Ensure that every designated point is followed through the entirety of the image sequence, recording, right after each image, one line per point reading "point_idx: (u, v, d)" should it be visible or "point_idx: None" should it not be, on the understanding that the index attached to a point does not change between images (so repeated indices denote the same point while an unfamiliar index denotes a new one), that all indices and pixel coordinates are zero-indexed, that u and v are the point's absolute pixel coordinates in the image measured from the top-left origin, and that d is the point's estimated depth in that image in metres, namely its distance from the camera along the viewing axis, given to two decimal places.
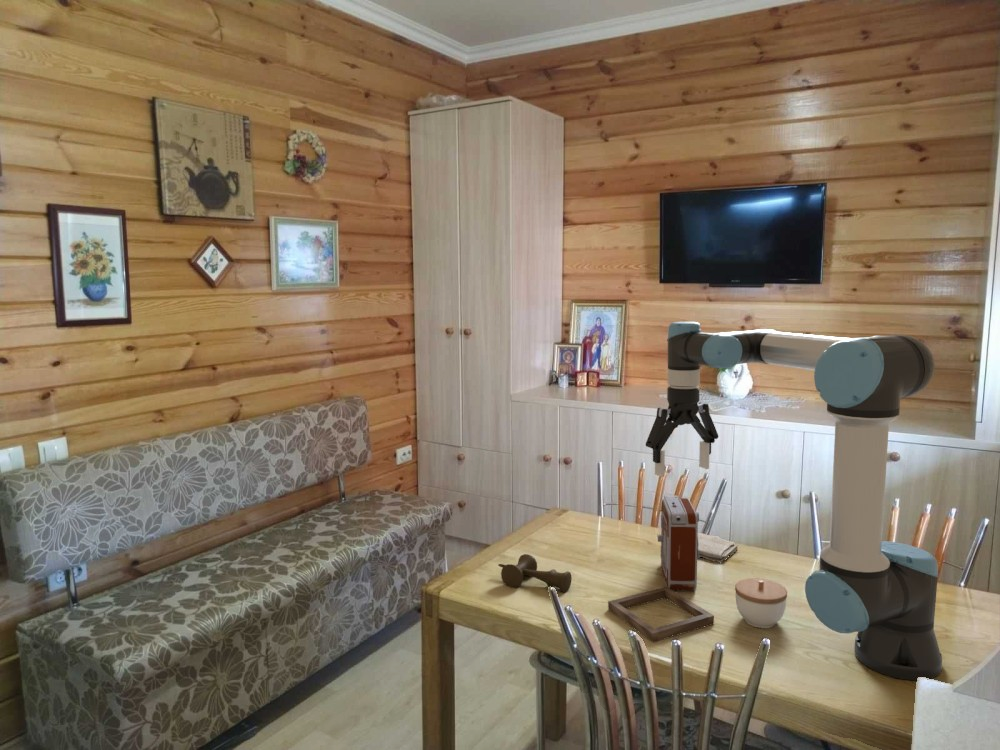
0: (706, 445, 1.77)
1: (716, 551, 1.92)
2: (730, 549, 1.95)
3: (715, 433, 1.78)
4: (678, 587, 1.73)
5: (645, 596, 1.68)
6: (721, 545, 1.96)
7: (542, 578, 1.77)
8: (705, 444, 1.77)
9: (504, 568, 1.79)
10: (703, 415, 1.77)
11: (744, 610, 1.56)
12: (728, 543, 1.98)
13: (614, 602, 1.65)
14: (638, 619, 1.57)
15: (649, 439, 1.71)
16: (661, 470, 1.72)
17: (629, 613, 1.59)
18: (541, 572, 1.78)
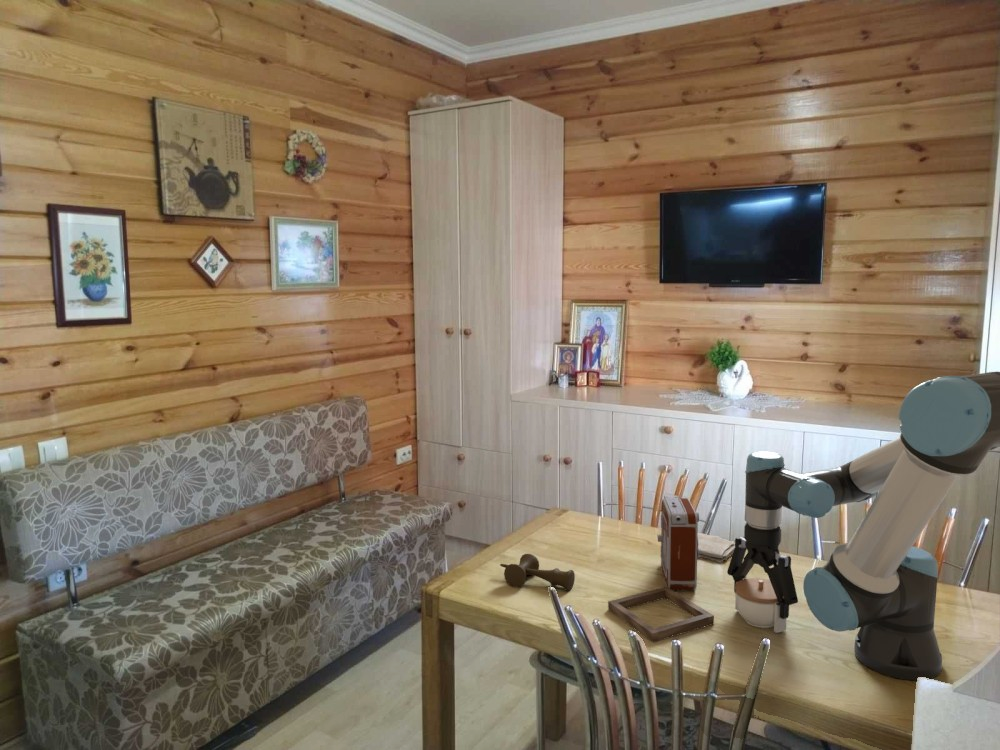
0: None
1: (717, 551, 1.92)
2: (730, 549, 1.95)
3: (786, 598, 1.50)
4: (678, 587, 1.73)
5: (645, 596, 1.68)
6: (721, 545, 1.97)
7: (546, 577, 1.78)
8: None
9: (507, 568, 1.79)
10: None
11: (744, 610, 1.56)
12: (728, 543, 1.98)
13: (614, 602, 1.65)
14: (638, 619, 1.57)
15: None
16: None
17: (629, 613, 1.59)
18: (544, 571, 1.79)
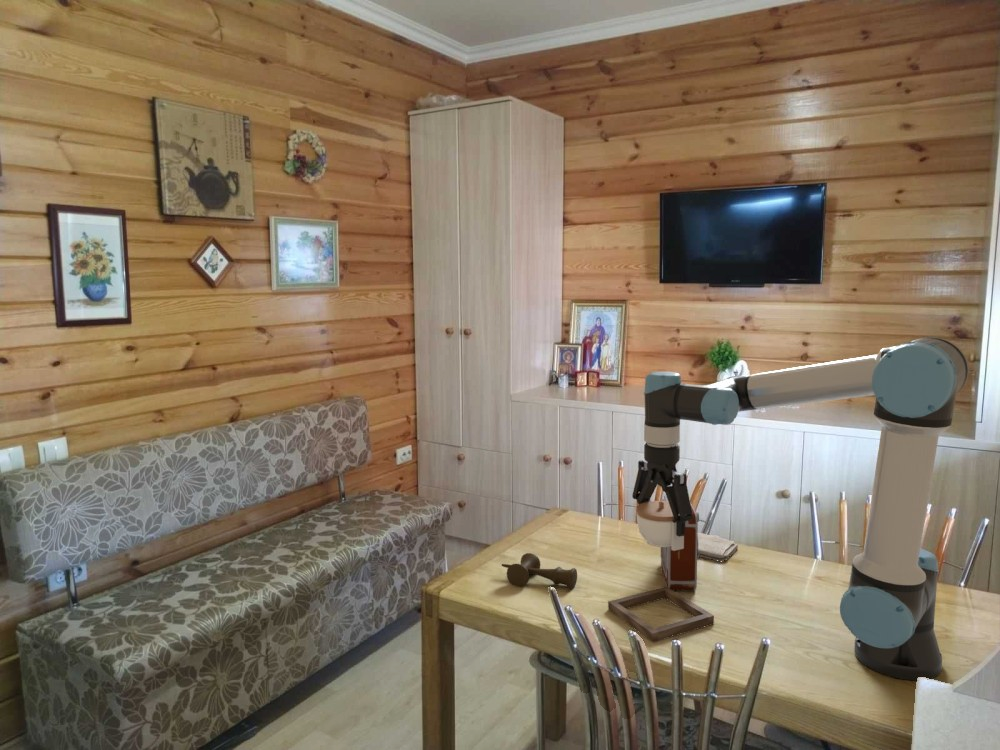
0: None
1: (718, 551, 1.92)
2: (731, 548, 1.95)
3: (681, 514, 1.50)
4: (677, 587, 1.73)
5: (645, 596, 1.68)
6: (722, 544, 1.97)
7: (549, 576, 1.78)
8: None
9: (510, 568, 1.79)
10: None
11: (643, 529, 1.56)
12: (728, 542, 1.98)
13: (614, 602, 1.65)
14: (638, 619, 1.57)
15: None
16: None
17: (629, 613, 1.59)
18: (547, 570, 1.79)
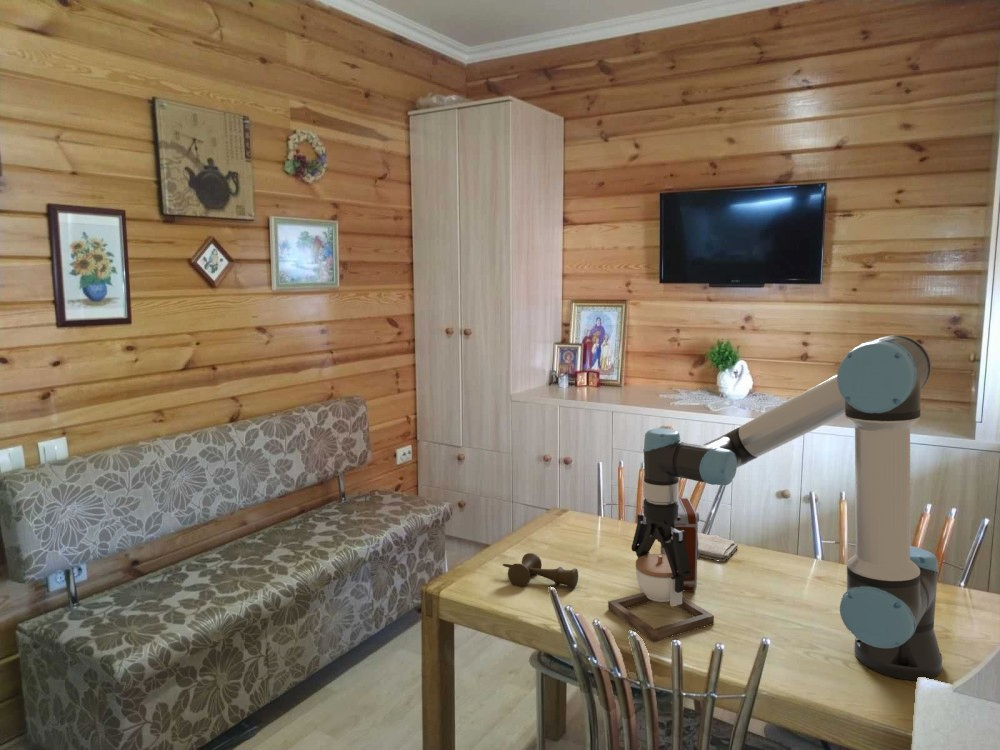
0: None
1: (718, 551, 1.92)
2: (731, 548, 1.95)
3: (679, 571, 1.52)
4: None
5: (645, 596, 1.68)
6: (722, 544, 1.97)
7: (550, 576, 1.78)
8: None
9: (511, 567, 1.79)
10: None
11: (642, 584, 1.58)
12: (728, 542, 1.98)
13: (614, 602, 1.65)
14: (638, 619, 1.57)
15: None
16: None
17: (629, 613, 1.59)
18: (548, 570, 1.79)
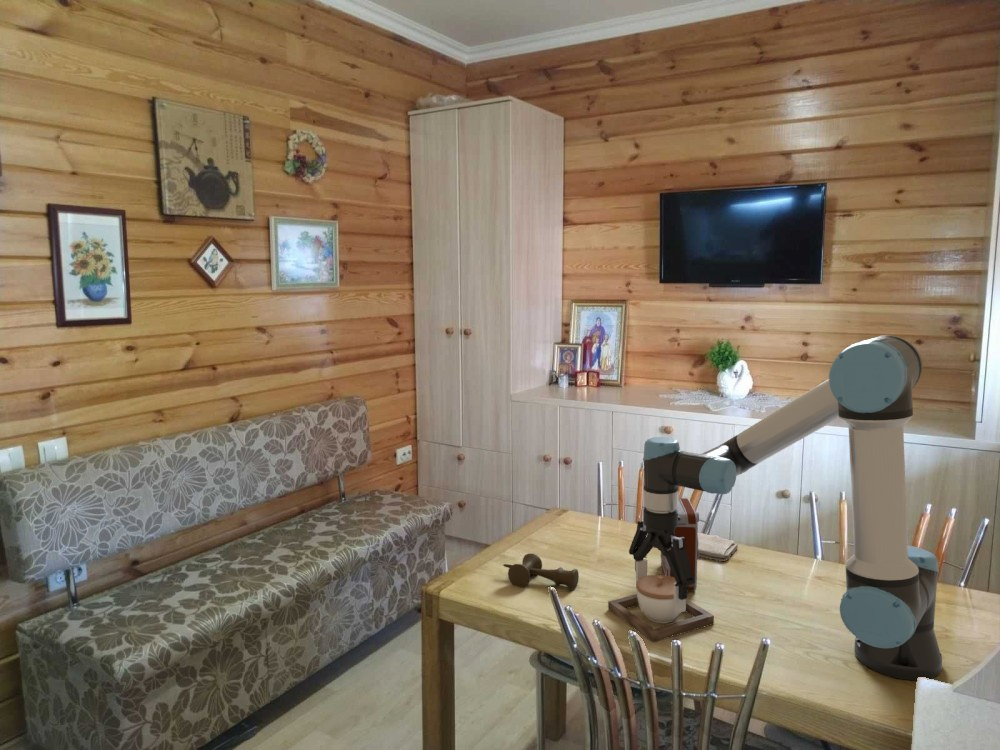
0: None
1: (719, 551, 1.92)
2: (731, 548, 1.95)
3: (682, 578, 1.51)
4: None
5: None
6: (722, 544, 1.97)
7: (550, 577, 1.78)
8: None
9: (511, 568, 1.79)
10: None
11: (643, 606, 1.59)
12: (728, 542, 1.98)
13: (614, 602, 1.65)
14: (638, 619, 1.57)
15: None
16: None
17: (629, 613, 1.59)
18: (548, 571, 1.79)
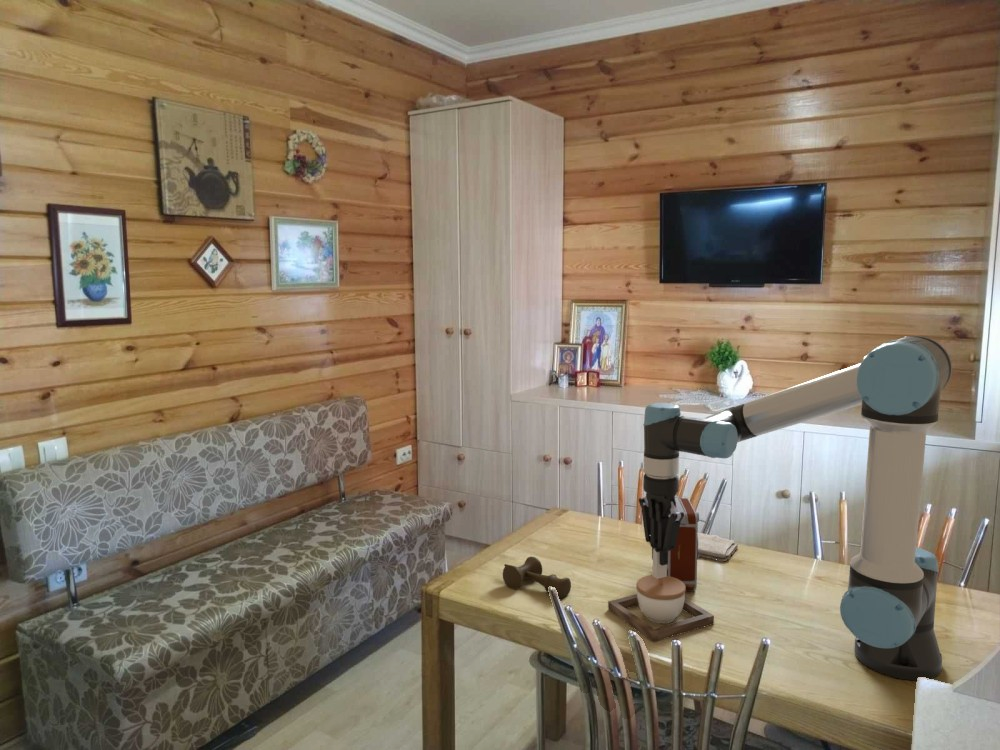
0: None
1: (719, 550, 1.92)
2: (732, 548, 1.96)
3: (665, 545, 1.56)
4: None
5: None
6: (722, 544, 1.97)
7: (541, 582, 1.75)
8: None
9: (505, 568, 1.79)
10: None
11: (643, 606, 1.59)
12: (728, 542, 1.99)
13: (614, 602, 1.65)
14: (638, 619, 1.57)
15: None
16: None
17: (629, 613, 1.59)
18: (541, 576, 1.76)
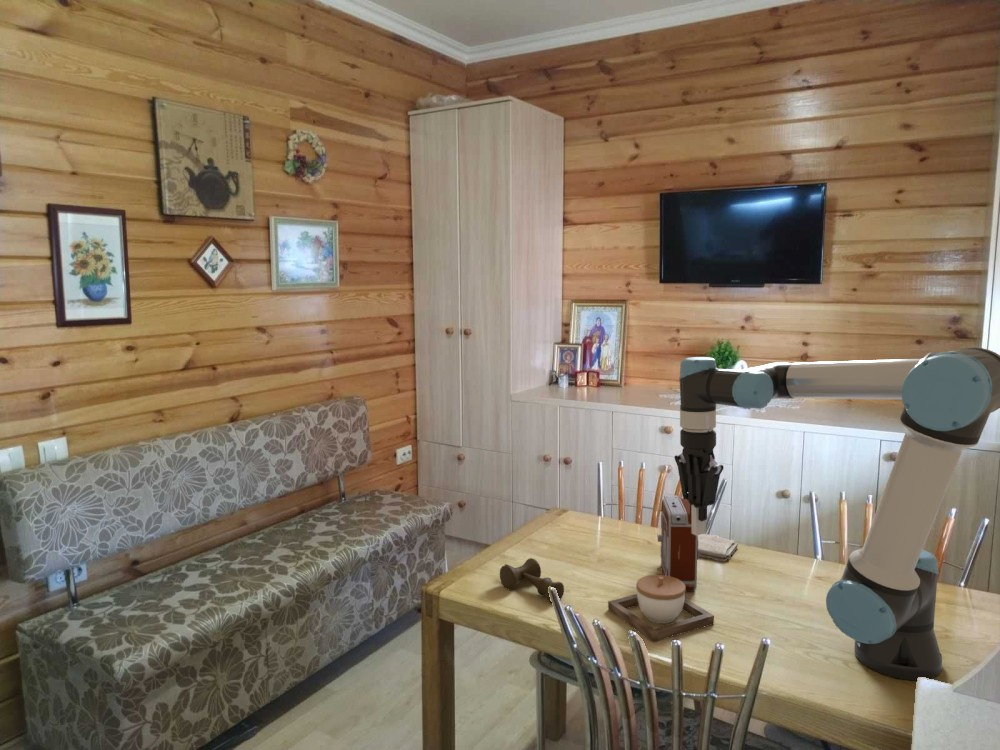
0: None
1: (720, 550, 1.92)
2: (732, 547, 1.96)
3: (704, 499, 1.54)
4: None
5: None
6: (722, 544, 1.97)
7: (535, 585, 1.74)
8: None
9: (501, 569, 1.79)
10: None
11: (643, 606, 1.59)
12: (728, 541, 1.99)
13: (614, 602, 1.65)
14: (638, 619, 1.57)
15: None
16: None
17: (629, 613, 1.59)
18: (536, 578, 1.75)
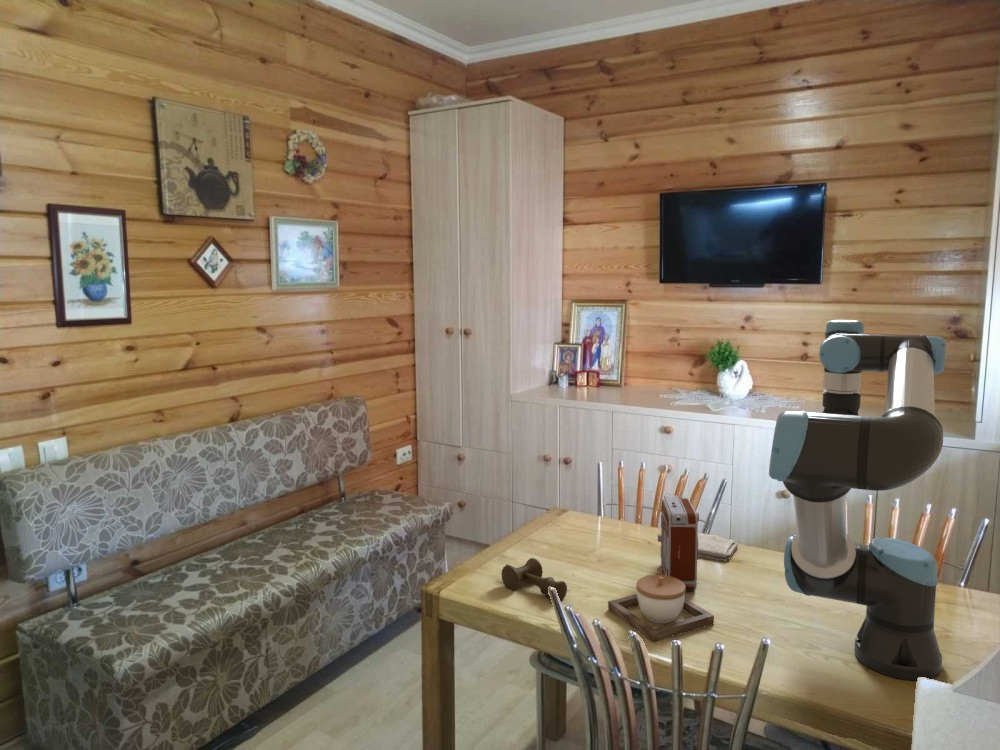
0: None
1: (720, 550, 1.92)
2: (732, 547, 1.96)
3: None
4: None
5: None
6: (723, 544, 1.97)
7: (538, 585, 1.74)
8: None
9: (503, 569, 1.78)
10: None
11: (643, 606, 1.59)
12: (729, 541, 1.99)
13: (614, 602, 1.65)
14: (638, 619, 1.57)
15: None
16: None
17: (629, 613, 1.59)
18: (538, 578, 1.75)
